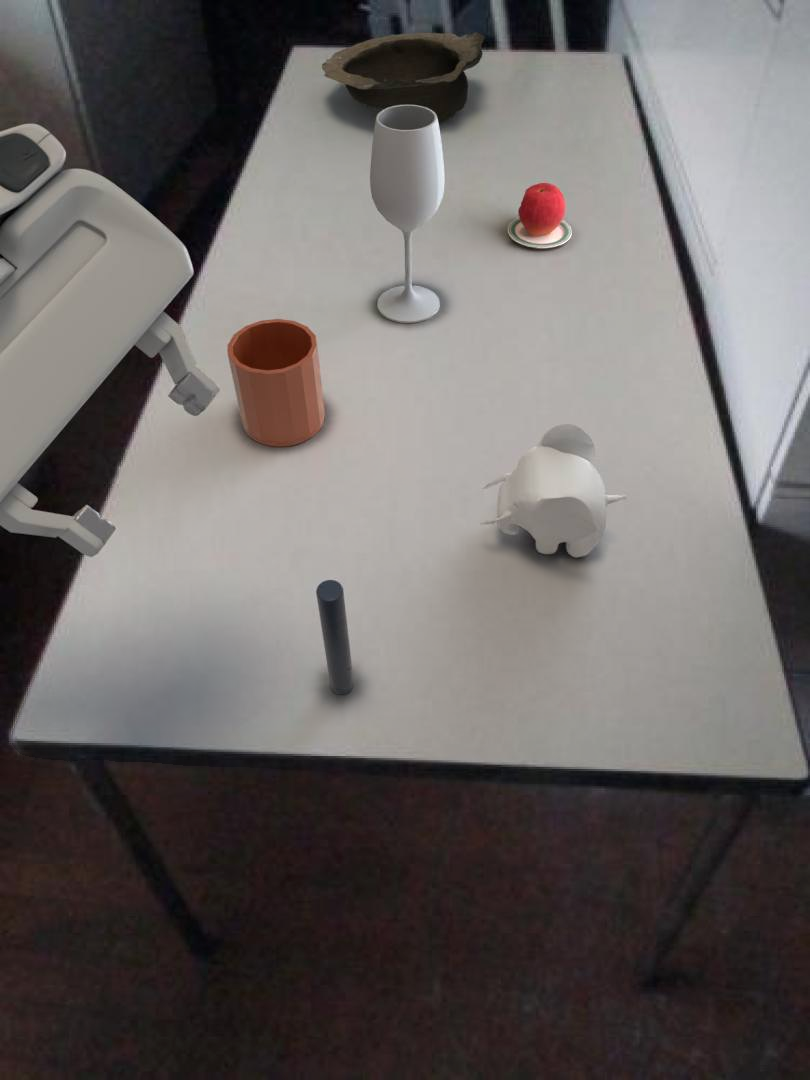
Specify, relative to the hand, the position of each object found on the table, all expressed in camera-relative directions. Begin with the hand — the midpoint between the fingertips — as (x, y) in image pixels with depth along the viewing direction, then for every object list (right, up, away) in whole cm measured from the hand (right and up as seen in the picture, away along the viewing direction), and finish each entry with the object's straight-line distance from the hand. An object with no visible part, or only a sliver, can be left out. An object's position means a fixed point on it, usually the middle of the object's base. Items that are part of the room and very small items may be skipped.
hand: (159, 469), depth 42 cm
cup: (0, +9, +43) cm, 44 cm away
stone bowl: (+12, +65, +91) cm, 113 cm away
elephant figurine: (+25, -3, +33) cm, 42 cm away
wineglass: (+13, +24, +56) cm, 62 cm away
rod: (+7, -15, +23) cm, 28 cm away
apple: (+29, +35, +66) cm, 80 cm away
